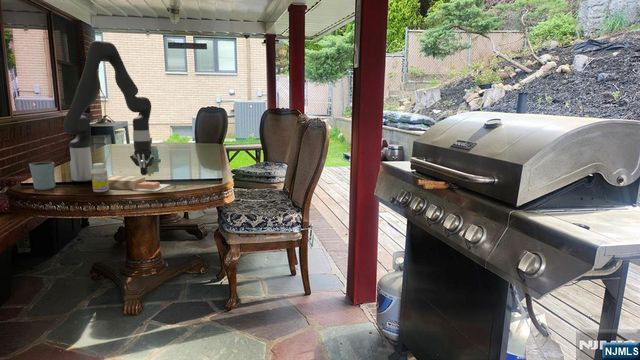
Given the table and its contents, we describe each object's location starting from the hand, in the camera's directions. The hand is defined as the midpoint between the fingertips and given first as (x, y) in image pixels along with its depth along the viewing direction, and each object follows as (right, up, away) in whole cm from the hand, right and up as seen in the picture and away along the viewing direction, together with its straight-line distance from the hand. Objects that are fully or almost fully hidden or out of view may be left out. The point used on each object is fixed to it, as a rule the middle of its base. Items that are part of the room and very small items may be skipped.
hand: (144, 174), depth 205 cm
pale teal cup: (-47, -6, -2) cm, 48 cm away
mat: (+3, -6, +1) cm, 7 cm away
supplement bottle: (-18, -8, -7) cm, 20 cm away
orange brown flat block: (+2, -6, 0) cm, 6 cm away
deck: (-13, -5, +3) cm, 14 cm away
